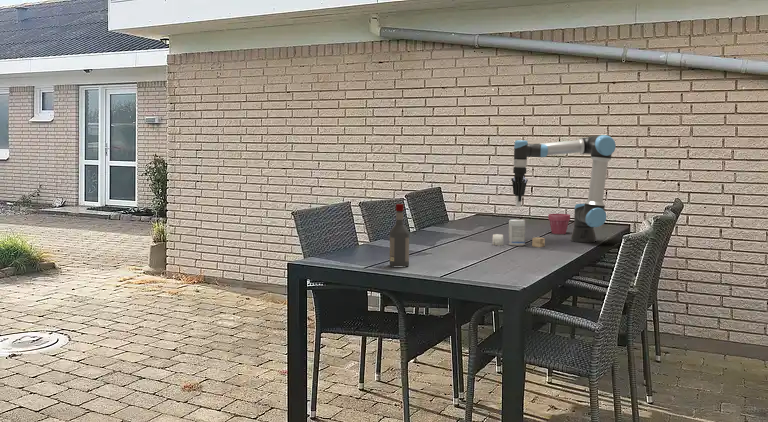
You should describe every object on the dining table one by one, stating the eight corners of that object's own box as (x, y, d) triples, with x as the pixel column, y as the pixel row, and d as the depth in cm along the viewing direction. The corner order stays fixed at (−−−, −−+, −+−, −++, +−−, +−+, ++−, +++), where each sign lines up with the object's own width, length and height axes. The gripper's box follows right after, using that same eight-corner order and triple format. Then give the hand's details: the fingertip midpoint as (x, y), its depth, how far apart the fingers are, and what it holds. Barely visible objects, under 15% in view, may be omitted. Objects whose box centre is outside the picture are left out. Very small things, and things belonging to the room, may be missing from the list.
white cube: (498, 243, 424) (499, 233, 424) (504, 245, 419) (505, 235, 418) (490, 244, 422) (490, 234, 421) (496, 245, 416) (496, 235, 416)
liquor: (407, 264, 352) (408, 203, 349) (409, 267, 342) (409, 205, 340) (389, 264, 351) (389, 203, 348) (390, 267, 342) (390, 205, 339)
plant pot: (552, 231, 484) (553, 212, 483) (572, 233, 476) (573, 214, 475) (544, 233, 473) (545, 214, 471) (564, 235, 464) (565, 215, 463)
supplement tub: (528, 245, 419) (529, 220, 417) (516, 246, 414) (517, 221, 412) (516, 243, 427) (517, 218, 425) (505, 244, 422) (505, 219, 420)
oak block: (537, 245, 418) (537, 237, 418) (544, 246, 415) (544, 238, 414) (532, 246, 415) (532, 238, 415) (539, 247, 411) (539, 238, 411)
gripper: (508, 166, 421) (506, 206, 423) (521, 167, 409) (519, 208, 411) (518, 166, 424) (516, 206, 426) (532, 167, 412) (530, 208, 414)
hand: (518, 207), depth 419 cm, fingers closed
